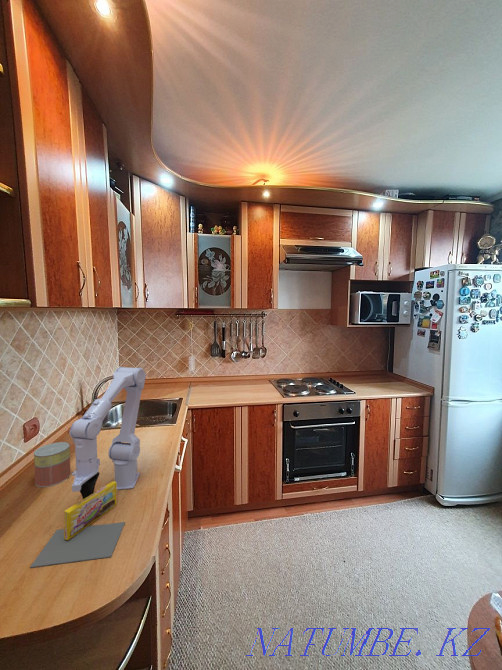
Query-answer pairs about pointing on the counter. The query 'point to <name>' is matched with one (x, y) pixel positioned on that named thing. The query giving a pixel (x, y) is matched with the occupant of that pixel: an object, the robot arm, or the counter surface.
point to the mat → (80, 545)
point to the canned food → (52, 464)
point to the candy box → (89, 510)
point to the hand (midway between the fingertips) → (88, 499)
